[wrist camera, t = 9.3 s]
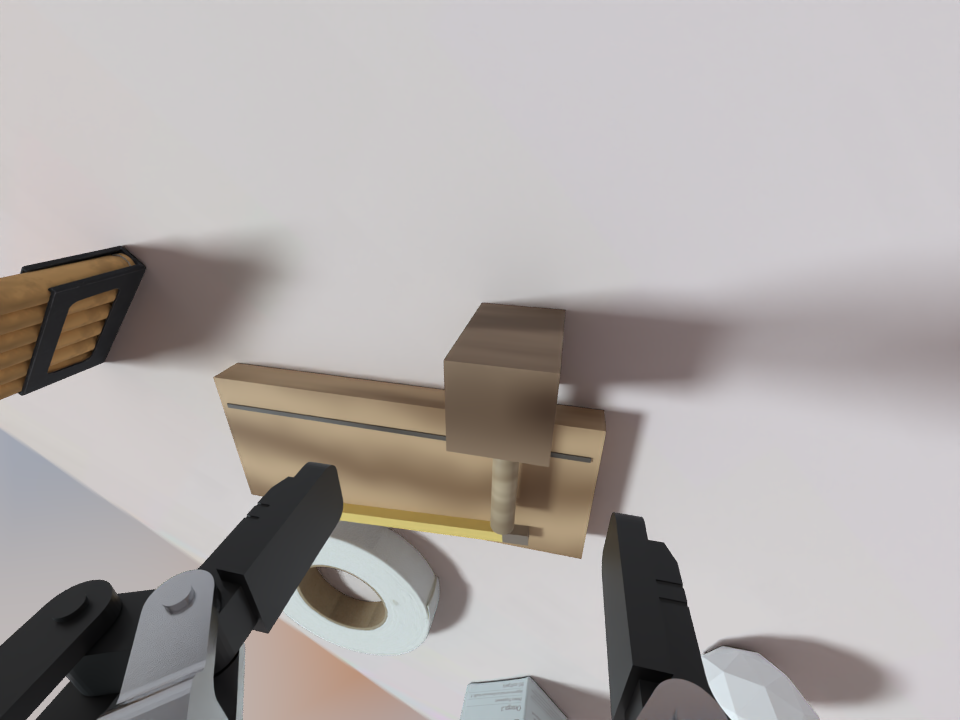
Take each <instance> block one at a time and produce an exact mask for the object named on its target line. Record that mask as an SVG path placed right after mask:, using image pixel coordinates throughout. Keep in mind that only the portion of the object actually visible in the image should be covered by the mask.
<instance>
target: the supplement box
mask: <svg viewBox="0 0 960 720" xmlns="http://www.w3.org/2000/svg"><path fill="white" fill-rule="evenodd" d="M460 720H568V719H567V718H566V717H565V715H564V714H563V713H562V712H561V711H560V710H559V709H558V707H557V706H556V705H555V704H554V703H553V702H552V701H551V700H550V698H549V697H548V696H547V695H546V694H545V693H544V692H543V691H542V689H541V688H540V687H539V686H538V685H537V684H536V683H535V682H534V680H532V678H530V677H526V678H522V679H515V680H507V681H498V682H488V683H478V684H477V683H471V684H468V685H467V689H466V694H465V699H464V703H463V708H462V712H461V717H460Z"/></svg>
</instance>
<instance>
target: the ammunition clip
mask: <svg viewBox="0 0 960 720" xmlns="http://www.w3.org/2000/svg"><path fill="white" fill-rule="evenodd" d="M145 270H146V268H145V267H144V265H143V264H142V263H140V262H139V261H138V260H137V259H136V258H135V257H133V256H132V255H131V254H130V253H129V252H128V251H127V250H125V249H124V248H123V247H122V246H117V247H113V248H108V249H103V250H98V251H94V252H89V253H84V254H80V255H75V256H70V257H65V258H61V259H56V260H51V261H47V262H42V263H37V264H32V265H28V266H23V267H22V269H21V273H20V274H17V275H12V276H8V277H3V278H0V400H1V399H4V398H6V397H8V396H11V395H13V394H16V393H19V394H20V395H22V396H23V395H26V394H28V393H30V392H33V391H35V390H38V389H40V388H43V387H45V386H47V385H50V384H52V383H55V382H57V381H60V380H62V379H65V378H67V377H69V376H72V375H74V374H77V373H79V372H82V371H84V370H86V369H89V368H91V367H94V366H96V365H99V364H101V363H103V362H104V361H105V359H106V357H107V355H108V352H109V350H110V348H111V346H112V343H113V341H114V339H115V337H116V335H117V332H118V330H119V328H120V326H121V323H122V321H123V319H124V317H125V315H126V312H127V310H128V308H129V306H130V303H131V301H132V299H133V297H134V295H135V292H136V290H137V288H138V286H139V283H140V281H141V279H142V277H143V275H144V272H145Z"/></svg>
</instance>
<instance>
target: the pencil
mask: <svg viewBox="0 0 960 720" xmlns="http://www.w3.org/2000/svg"><path fill="white" fill-rule="evenodd" d="M340 520H341V521H348V522H356V523H363V524H371V525H378V526H386V527H393V528H401V529H408V530H415V531H423V532H430V533H438V534H445V535H453V536H460V537H467V538H475V539H482V540H490V541H497V542H505V543H512V544H520V545H527V546H528V541H529V526H525V525H517V524H514V529H513V531H512V532H511V533H509V534H506V535H500V534H497V533H495V532H494V531H493V530H492V529H491V526H490V521H484V520H476V519H468V518H460V517H452V516H444V515H436V514H428V513H420V512H412V511H403V510H395V509H387V508H379V507H371V506H363V505H355V504H347V503H343V511H342V515H341V518H340Z"/></svg>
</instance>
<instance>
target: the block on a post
mask: <svg viewBox="0 0 960 720" xmlns="http://www.w3.org/2000/svg"><path fill="white" fill-rule="evenodd" d="M564 321H565V310H561V309H549V308H537V307H525V306H514V305H502V304H490V303H481V305H480V306H479V308H478V309H477V311H476V312H475V314H474V315H473V317H472V318H471V320H470V321H469V323H468V324H467V326H466V327H465V329H464V330H463V332H462V333H461V335H460V337H459V338H458V340H457V341H456V343H455V344H454V346H453V347H452V349H451V350H450V352H449V353H448V355H447V356H446V358H445V359H444V388H445V423H446V451H449V452H456V453H462V454H468V455H475V456H481V457H487V458H493V465H492V491H491V518H490V526H491V529H492V530H493V531H494V532H495V533H497V534H500V535H506V534H509V533H511V532H512V531H513V529H514V522H515V509H516V496H517V483H518V470H519V463H526V464H532V465H538V466H545V467H549V463H550V455H551V446H552V438H553V430H554V422H555V414H556V405H557V397H558V389H559V381H560V372H561V359H562V346H563V334H564Z"/></svg>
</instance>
